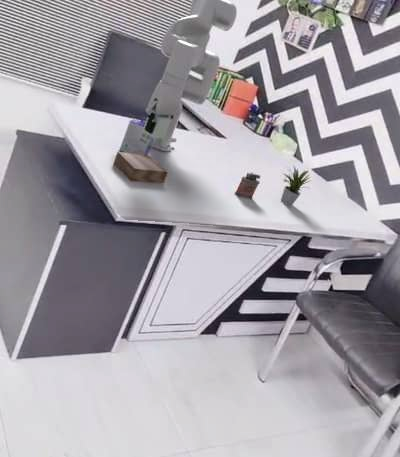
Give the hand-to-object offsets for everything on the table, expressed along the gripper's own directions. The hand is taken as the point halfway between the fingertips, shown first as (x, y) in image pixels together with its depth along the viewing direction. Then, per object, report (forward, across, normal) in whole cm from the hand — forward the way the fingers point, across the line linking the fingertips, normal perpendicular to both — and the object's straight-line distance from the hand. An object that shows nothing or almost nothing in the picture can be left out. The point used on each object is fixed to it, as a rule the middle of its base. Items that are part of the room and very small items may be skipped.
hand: (154, 131), depth 175 cm
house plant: (+16, -63, +29) cm, 71 cm away
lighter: (+16, -40, +21) cm, 48 cm away
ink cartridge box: (+16, -11, -14) cm, 24 cm away
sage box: (+1, 0, 0) cm, 1 cm away
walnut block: (+16, 0, 0) cm, 16 cm away
